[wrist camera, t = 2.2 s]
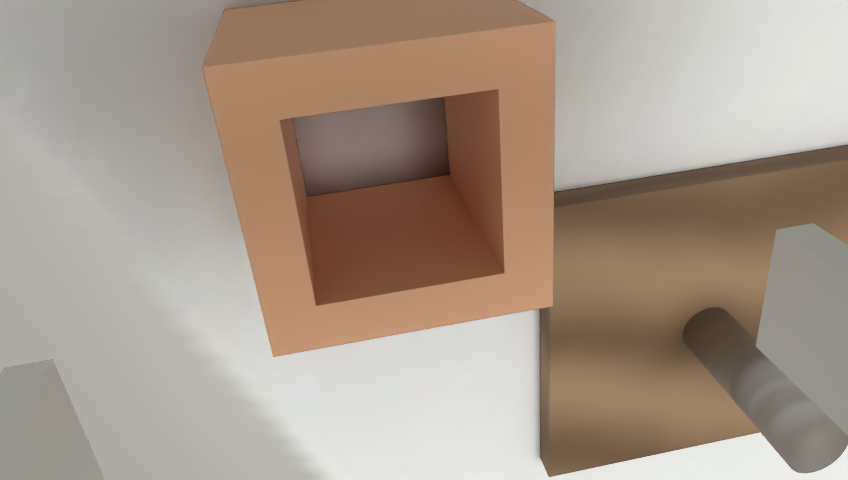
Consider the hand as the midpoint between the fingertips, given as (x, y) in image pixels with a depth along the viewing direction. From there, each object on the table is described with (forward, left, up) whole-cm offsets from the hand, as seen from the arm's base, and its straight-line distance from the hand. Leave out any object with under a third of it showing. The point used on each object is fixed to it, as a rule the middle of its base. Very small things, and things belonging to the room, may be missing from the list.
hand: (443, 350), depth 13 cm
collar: (0, 0, -13) cm, 13 cm away
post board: (+11, +13, -13) cm, 21 cm away
